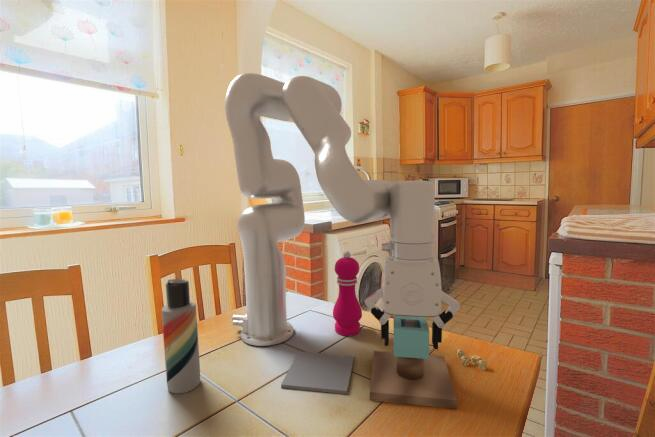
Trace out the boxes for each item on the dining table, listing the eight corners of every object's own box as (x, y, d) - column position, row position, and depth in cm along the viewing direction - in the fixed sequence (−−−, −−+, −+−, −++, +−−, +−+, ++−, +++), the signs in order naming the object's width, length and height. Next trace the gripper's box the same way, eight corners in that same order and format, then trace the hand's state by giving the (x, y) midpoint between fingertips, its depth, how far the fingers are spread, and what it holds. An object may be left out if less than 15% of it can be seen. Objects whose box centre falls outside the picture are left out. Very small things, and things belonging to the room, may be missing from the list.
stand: (369, 400, 58) (369, 336, 56) (373, 357, 71) (373, 305, 70) (456, 408, 55) (458, 342, 54) (443, 363, 69) (444, 309, 68)
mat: (281, 387, 62) (281, 384, 61) (298, 354, 73) (298, 351, 73) (347, 394, 59) (347, 390, 59) (354, 358, 71) (354, 355, 71)
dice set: (487, 373, 66) (487, 364, 66) (459, 370, 67) (459, 360, 67) (482, 360, 71) (483, 351, 71) (456, 357, 72) (456, 348, 72)
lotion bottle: (164, 383, 63) (156, 279, 61) (195, 372, 67) (189, 273, 65) (171, 398, 59) (163, 286, 57) (204, 386, 62) (198, 280, 60)
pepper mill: (363, 337, 81) (363, 254, 78) (332, 337, 81) (331, 254, 79) (360, 324, 88) (360, 248, 86) (333, 324, 88) (331, 248, 86)
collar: (393, 356, 60) (394, 329, 60) (393, 340, 66) (393, 315, 65) (429, 359, 59) (429, 331, 59) (425, 342, 65) (425, 317, 64)
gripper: (360, 253, 58) (361, 350, 60) (468, 256, 55) (465, 358, 57) (363, 245, 66) (364, 332, 68) (458, 247, 63) (456, 337, 65)
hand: (410, 343), depth 62 cm, fingers open, 8 cm apart
